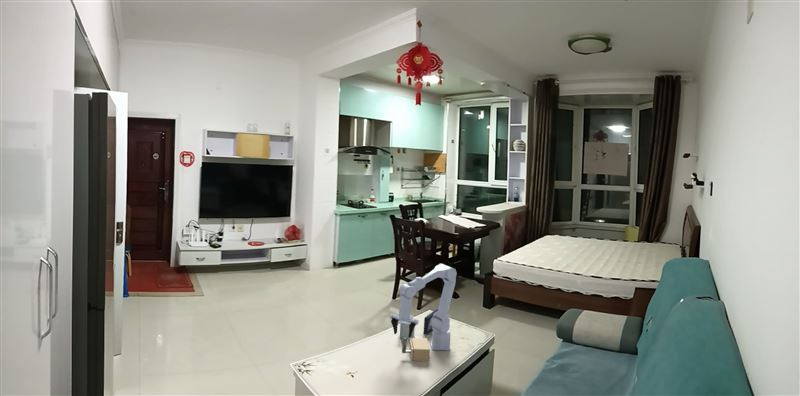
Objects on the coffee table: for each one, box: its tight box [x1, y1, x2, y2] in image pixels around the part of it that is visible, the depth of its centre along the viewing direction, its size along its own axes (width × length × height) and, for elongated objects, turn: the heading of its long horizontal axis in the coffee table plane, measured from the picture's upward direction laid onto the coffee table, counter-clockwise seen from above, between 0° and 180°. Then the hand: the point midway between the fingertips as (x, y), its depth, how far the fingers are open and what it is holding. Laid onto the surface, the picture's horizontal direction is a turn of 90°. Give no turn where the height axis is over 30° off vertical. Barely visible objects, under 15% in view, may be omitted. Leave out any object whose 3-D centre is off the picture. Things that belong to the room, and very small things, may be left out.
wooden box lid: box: [401, 338, 413, 361], centre depth 201 cm, size 5×12×10 cm, turn 4°
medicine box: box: [399, 321, 416, 340], centre depth 222 cm, size 8×4×9 cm, turn 84°
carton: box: [411, 337, 431, 362], centre depth 202 cm, size 8×12×6 cm, turn 4°
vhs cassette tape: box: [423, 308, 438, 335], centre depth 233 cm, size 18×3×10 cm, turn 147°
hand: (402, 335), depth 198 cm, fingers open, 7 cm apart
